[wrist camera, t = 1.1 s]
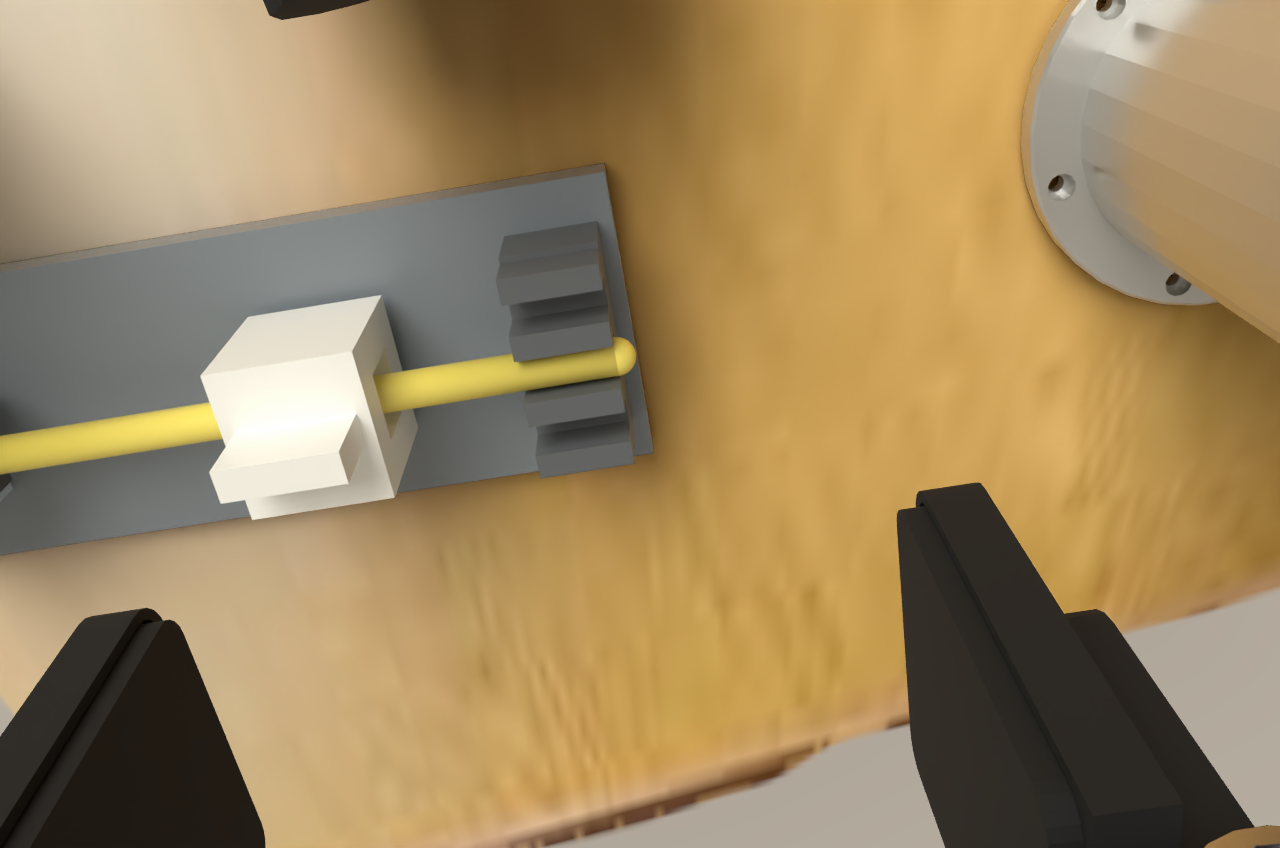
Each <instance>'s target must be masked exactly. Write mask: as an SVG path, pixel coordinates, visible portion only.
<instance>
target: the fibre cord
mask: <svg viewBox="0 0 1280 848" xmlns="http://www.w3.org/2000/svg"><path fill="white" fill-rule="evenodd" d="M635 362H636V352H635V349H634V347H633V345H632V344H631V343H630V342H629V341H628V340H626V339H624V338H621V337H613V347H607V348H601V349H595V350H589V351H582V352H576V353H570V354H564V355H558V356H551V357H545V358H539V359H533V360H526V361H520V362H514V360H513V355H512V354H506V355H500V356H494V357H487V358H481V359H475V360H469V361H462V362H456V363H450V364H444V365H438V366H431V367H425V368H419V369H413V370H406V371H400V372H394V373H388V374H382V375H375V376H373V379H374V383H375V386H376V389H377V393H378V396H379V400H380V403H381V407H382V410H383V413H390V412H396V411H402V410H408V409H415V408H421V407H427V406H433V405H440V404H446V403H452V402H459V401H465V400H471V399H477V398H484V397H490V396H496V395H502V394H509V393H515V392H521V391H528V390H534V389H540V388H546V387H553V386H559V385H565V384H571V383H578V382H584V381H590V380H597V379H603V378H609V377H615V376H621V375H624V374H626V373H628V372H629V371H630V370H631V369H632V368H633V366H634V364H635ZM220 439H223V438H222V435H221V432H220V430H219V427H218V424H217V421H216V419H215V416H214V413H213V410H212V407H211V405H210V402H208V403H201V404H195V405H189V406H183V407H176V408H170V409H164V410H158V411H152V412H145V413H139V414H133V415H127V416H121V417H114V418H108V419H102V420H96V421H89V422H83V423H77V424H71V425H65V426H58V427H52V428H46V429H40V430H33V431H27V432H21V433H15V434H9V435H2V436H0V475H1V474H7V473H13V472H19V471H26V470H32V469H38V468H44V467H51V466H57V465H63V464H70V463H76V462H82V461H88V460H95V459H101V458H107V457H113V456H120V455H126V454H132V453H139V452H145V451H151V450H157V449H164V448H170V447H176V446H182V445H189V444H195V443H201V442H208V441H214V440H220Z"/></svg>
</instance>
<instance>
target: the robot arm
mask: <svg viewBox="0 0 1280 848" xmlns="http://www.w3.org/2000/svg"><path fill="white" fill-rule="evenodd" d="M1096 2H1097V0H1069V1H1068V3H1067V4H1066V6H1065V7H1064V9H1063V11H1062V12H1061V14H1060V15H1059V17H1058V18H1057V20H1056V21H1055V23H1054V25H1053V26H1052V28H1051V29H1050V31H1049V33H1048V35H1047V38H1046V40H1045V42H1044V45H1043V47H1042V49H1041V52H1040V54H1039V56H1038V58H1037V61H1036V63H1035V65H1034V68H1033V70H1032V74H1031V78H1030V82H1029V87H1028V91H1027V95H1026V99H1025V103H1024V107H1023V118H1022V134H1021V153H1022V160H1023V168H1024V175H1025V183H1026V185H1027V188H1028V191H1029V194H1030V197H1031V200H1032V202H1033V205H1034V208H1035V211H1036V214H1037V216H1038V217H1039V219H1040V221H1041V222H1042V224H1043V225H1044V227H1045V229H1046V230H1047V232H1048V233H1049V235H1050V237H1051V238H1052V240H1053V241H1054V243H1055V244H1056V245H1057V246H1058V247H1059V248H1060V249H1061V250H1062V251H1063V252H1064V253H1065V254H1066V255H1067V256H1068V257H1069V258H1070V259H1071V260H1072V261H1073V262H1074V263H1075V264H1076V265H1077V266H1079V267H1080V268H1082V269H1083V270H1084V271H1086V272H1087V273H1088V274H1090V275H1091V276H1092V277H1094V278H1095V279H1096V280H1098V281H1099V282H1100V283H1103V284H1105V285H1107V286H1109V287H1111V288H1113V289H1115V290H1117V291H1119V292H1121V293H1123V294H1125V295H1127V296H1130V297H1134V298H1138V299H1143V300H1147V301H1151V302H1155V303H1159V304H1170V305H1193V306H1197V305H1205V304H1212V303H1220V304H1222V305H1223V306H1225V307H1226V308H1228V309H1229V310H1231V311H1232V312H1234V313H1235V314H1237V315H1238V316H1240V317H1241V318H1242V319H1244V320H1245V321H1247V322H1248V323H1250V324H1251V325H1253V326H1254V327H1256V328H1257V329H1259V330H1260V331H1262V332H1263V333H1264V334H1266V335H1267V336H1269V337H1270V338H1272V339H1273V340H1275V341H1276V342H1278V343H1279V344H1280V0H1106V3H1105V5H1104V7H1103V8H1101V9H1100V10H1096ZM1057 175H1058V176H1059V181H1058V183H1057V185H1056V186H1054V187H1053V188H1048V185H1049V184H1050V182H1051V180H1052V179H1053V178H1054V177H1056V176H1057ZM1172 274H1173V275H1172ZM1170 275H1172V277H1171V278H1170V279H1169V280H1168V281H1167V279H1168V278H1169V276H1170ZM897 533H898V549H899V564H900V579H901V594H902V609H903V625H904V640H905V655H906V670H907V685H908V701H909V716H910V731H911V740H912V746H913V752H914V757H915V761H916V765H917V769H918V771H919V774H920V778H921V781H922V783H923V786H924V789H925V792H926V794H927V797H928V800H929V803H930V806H931V809H932V812H933V814H934V817H935V820H936V823H937V826H938V828H939V831H940V834H941V837H942V840H943V842H944V845H945V848H1280V826H1268V825H1266V826H1260V827H1254V825H1253V824H1252V822H1251V821H1250V820H1249V818H1248V817H1247V815H1246V814H1245V812H1244V811H1243V809H1242V808H1241V807H1240V805H1239V804H1238V802H1237V801H1236V799H1235V798H1234V796H1233V795H1232V794H1231V792H1230V791H1229V789H1228V788H1227V786H1226V785H1225V783H1224V782H1223V781H1222V779H1221V778H1220V776H1219V775H1218V773H1217V772H1216V770H1215V769H1214V767H1213V766H1212V765H1211V763H1210V762H1209V760H1208V759H1207V757H1206V756H1205V754H1204V753H1203V752H1202V750H1201V749H1200V747H1199V746H1198V744H1197V743H1196V742H1195V740H1194V739H1193V737H1192V736H1191V734H1190V733H1189V732H1188V730H1187V729H1186V727H1185V725H1184V724H1183V723H1182V721H1181V720H1180V718H1179V717H1178V715H1177V714H1176V712H1175V711H1174V710H1173V708H1172V707H1171V705H1170V704H1169V702H1168V701H1167V699H1166V698H1165V697H1164V695H1163V694H1162V692H1161V691H1160V689H1159V688H1158V687H1157V685H1156V683H1155V682H1154V681H1153V679H1152V678H1151V676H1150V675H1149V673H1148V672H1147V671H1146V669H1145V668H1144V666H1143V665H1142V663H1141V662H1140V661H1139V659H1138V657H1137V656H1136V654H1135V653H1134V652H1133V650H1132V649H1131V647H1130V646H1129V644H1128V643H1127V641H1126V640H1125V639H1124V637H1123V636H1122V634H1121V633H1120V631H1119V630H1118V628H1117V627H1116V626H1115V624H1114V623H1113V622H1112V621H1111V619H1110V618H1109V617H1108V616H1107V615H1106V614H1105V613H1104V612H1102V611H1099V610H1097V609H1094V610H1087V611H1080V612H1073V613H1066V614H1064V613H1063V611H1062V610H1061V608H1060V607H1059V605H1058V604H1057V602H1056V600H1055V599H1054V597H1053V596H1052V594H1051V592H1050V591H1049V589H1048V588H1047V586H1046V585H1045V583H1044V581H1043V580H1042V578H1041V577H1040V575H1039V573H1038V572H1037V570H1036V569H1035V567H1034V566H1033V564H1032V562H1031V561H1030V559H1029V558H1028V556H1027V554H1026V553H1025V551H1024V550H1023V548H1022V547H1021V545H1020V543H1019V542H1018V540H1017V539H1016V537H1015V535H1014V534H1013V532H1012V531H1011V529H1010V528H1009V526H1008V524H1007V523H1006V521H1005V520H1004V518H1003V516H1002V515H1001V513H1000V512H999V510H998V508H997V507H996V505H995V504H994V502H993V501H992V499H991V497H990V496H989V494H988V493H987V491H986V489H985V488H984V487H983V486H982V485H981V483H970V484H963V485H957V486H950V487H944V488H937V489H930V490H924V491H919V492H918V494H917V497H916V508H909V509H902V510H899V511H898V513H897ZM0 848H265V836H264V830H263V827H262V823H261V821H260V819H259V816H258V814H257V811H256V809H255V806H254V804H253V802H252V799H251V797H250V794H249V792H248V789H247V787H246V784H245V782H244V780H243V777H242V775H241V772H240V770H239V767H238V765H237V763H236V760H235V758H234V755H233V753H232V750H231V748H230V746H229V743H228V741H227V738H226V736H225V733H224V731H223V729H222V726H221V724H220V721H219V719H218V716H217V714H216V712H215V709H214V707H213V704H212V702H211V699H210V697H209V695H208V692H207V690H206V687H205V685H204V682H203V680H202V678H201V675H200V673H199V670H198V668H197V665H196V663H195V661H194V658H193V656H192V653H191V651H190V648H189V646H188V644H187V641H186V639H185V636H184V634H183V632H182V630H181V628H180V626H179V625H178V624H177V623H176V622H175V621H172V620H165V621H163V620H162V618H161V617H160V616H159V615H158V614H157V613H156V612H155V611H154V610H152V609H149V608H143V609H137V610H130V611H123V612H117V613H110V614H104V615H97V616H92V617H88V618H85V619H84V620H83V621H82V622H81V623H80V624H79V625H78V627H77V628H76V629H75V631H74V632H73V634H72V635H71V636H70V638H69V639H68V641H67V642H66V644H65V645H64V646H63V648H62V649H61V651H60V652H59V654H58V655H57V656H56V658H55V659H54V661H53V662H52V664H51V665H50V666H49V668H48V669H47V671H46V672H45V674H44V675H43V676H42V678H41V679H40V681H39V682H38V683H37V685H36V686H35V688H34V689H33V691H32V692H31V693H30V695H29V696H28V698H27V699H26V701H25V702H24V703H23V705H22V706H21V708H20V709H19V711H18V712H17V713H16V715H15V716H14V718H13V719H12V721H11V722H10V723H9V725H8V726H7V728H6V729H5V731H4V732H3V733H2V735H1V736H0Z"/></svg>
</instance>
